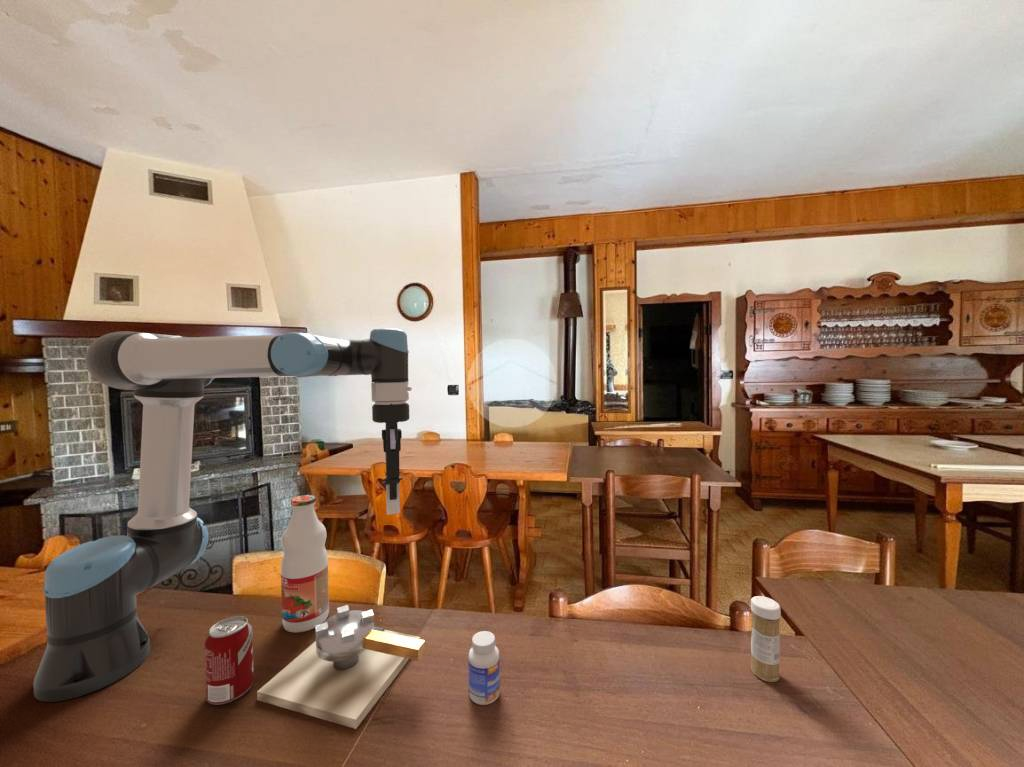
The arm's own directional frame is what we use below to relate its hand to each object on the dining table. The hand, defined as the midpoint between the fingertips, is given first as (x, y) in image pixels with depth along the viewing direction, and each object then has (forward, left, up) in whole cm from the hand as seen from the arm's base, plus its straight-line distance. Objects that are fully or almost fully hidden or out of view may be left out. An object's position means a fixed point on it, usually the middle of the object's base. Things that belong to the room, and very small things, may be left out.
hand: (393, 512), depth 84 cm
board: (-3, -12, -26) cm, 29 cm away
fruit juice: (-22, -2, -26) cm, 34 cm away
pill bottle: (+24, -10, -26) cm, 37 cm away
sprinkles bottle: (+72, +8, -26) cm, 77 cm away
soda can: (-19, -22, -26) cm, 39 cm away
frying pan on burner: (+3, -12, -21) cm, 24 cm away
